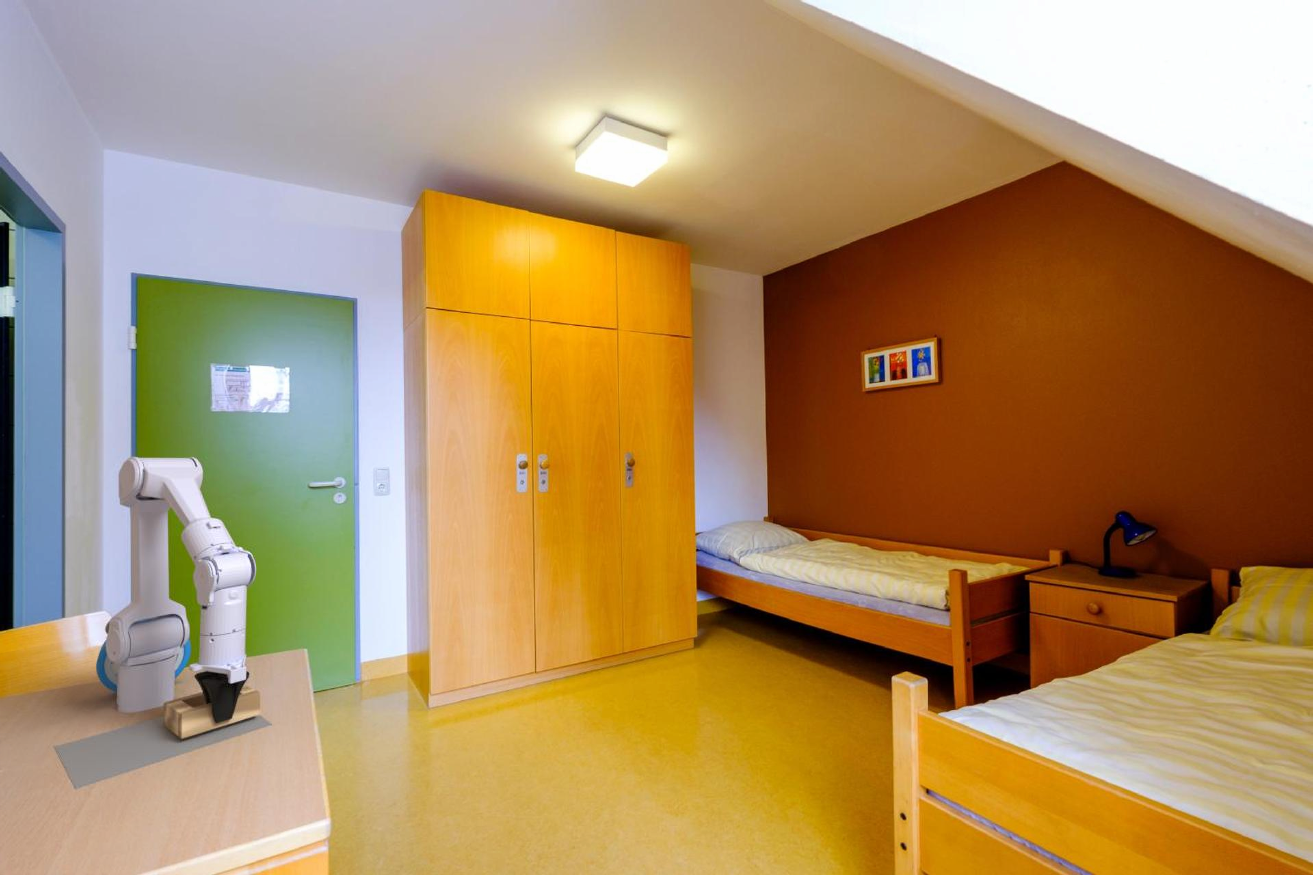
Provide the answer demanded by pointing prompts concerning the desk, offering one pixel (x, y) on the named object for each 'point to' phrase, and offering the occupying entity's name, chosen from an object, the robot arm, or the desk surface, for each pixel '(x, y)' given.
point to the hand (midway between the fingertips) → (220, 718)
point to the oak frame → (205, 712)
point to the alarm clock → (109, 669)
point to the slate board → (139, 748)
